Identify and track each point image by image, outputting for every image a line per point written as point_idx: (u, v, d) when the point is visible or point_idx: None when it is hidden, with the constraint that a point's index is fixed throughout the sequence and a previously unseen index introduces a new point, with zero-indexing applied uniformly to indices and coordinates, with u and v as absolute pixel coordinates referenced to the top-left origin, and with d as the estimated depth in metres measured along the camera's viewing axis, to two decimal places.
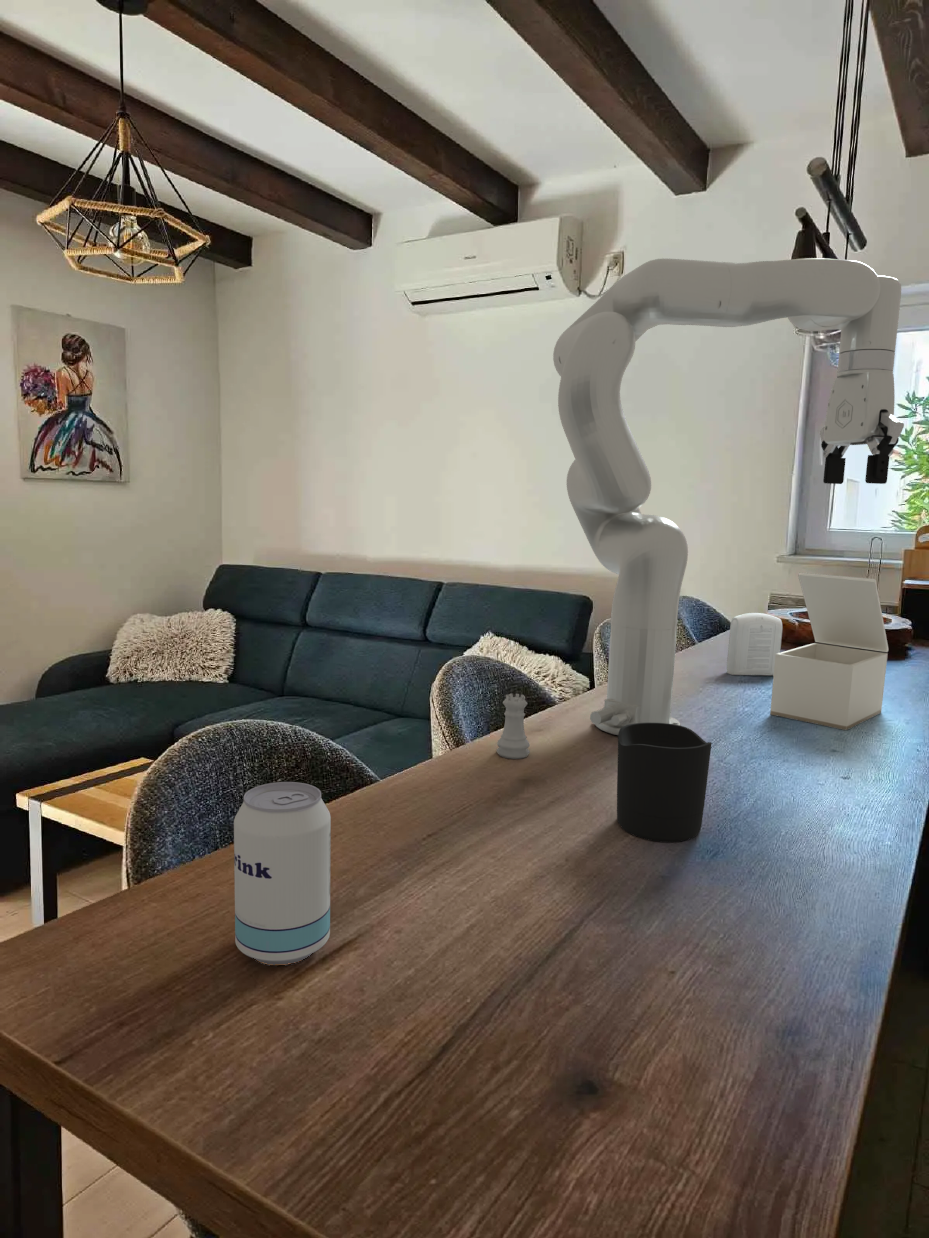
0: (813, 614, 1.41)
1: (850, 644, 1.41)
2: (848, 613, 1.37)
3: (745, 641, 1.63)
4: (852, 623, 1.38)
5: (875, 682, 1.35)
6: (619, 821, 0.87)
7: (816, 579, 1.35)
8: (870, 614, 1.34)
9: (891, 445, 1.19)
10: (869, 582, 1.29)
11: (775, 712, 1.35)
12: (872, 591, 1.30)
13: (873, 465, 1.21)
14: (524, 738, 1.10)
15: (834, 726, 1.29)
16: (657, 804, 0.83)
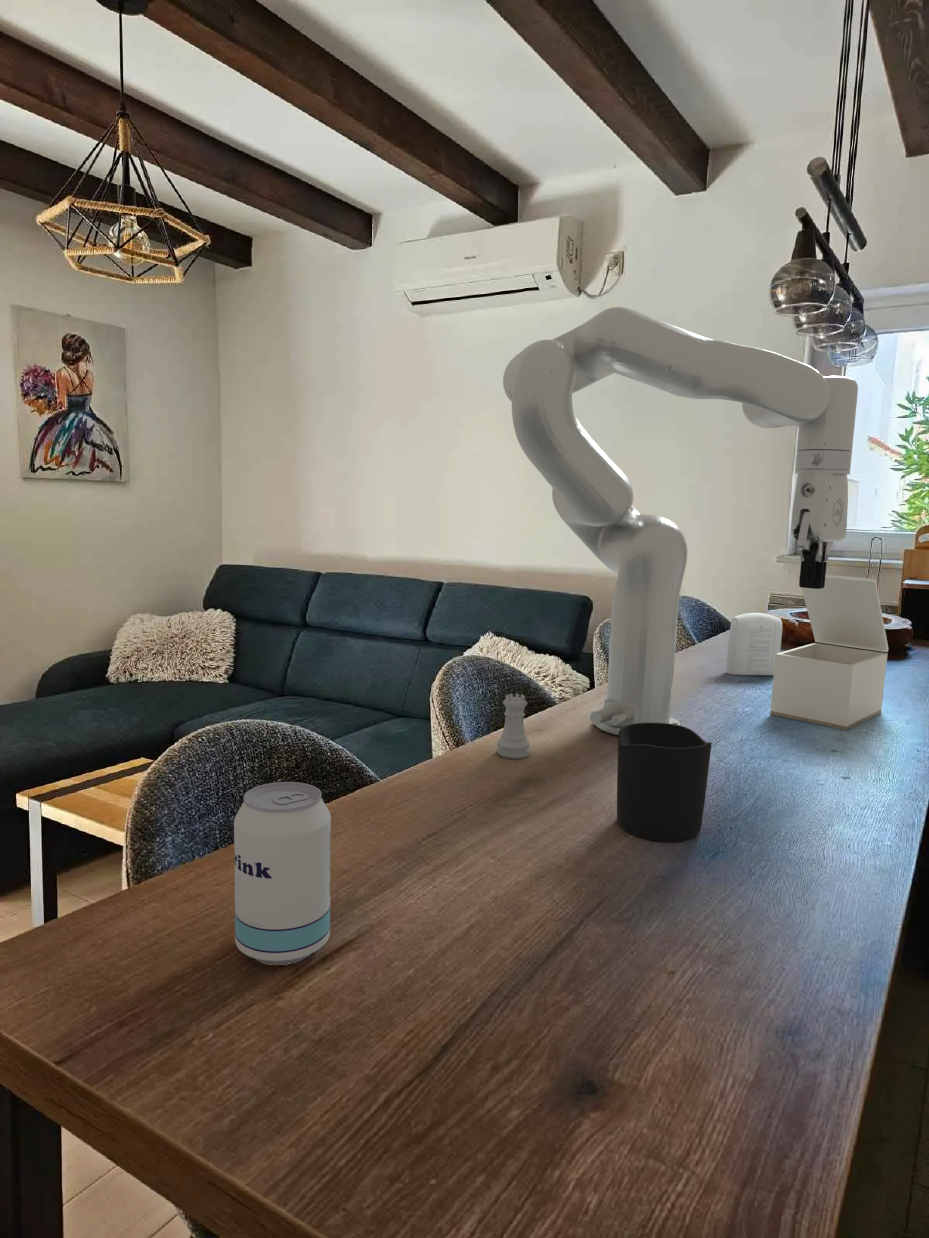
0: (813, 614, 1.41)
1: (850, 644, 1.41)
2: (848, 613, 1.37)
3: (745, 641, 1.63)
4: (852, 623, 1.38)
5: (875, 682, 1.35)
6: (619, 821, 0.87)
7: None
8: (870, 614, 1.34)
9: None
10: (869, 582, 1.29)
11: (775, 712, 1.35)
12: (872, 591, 1.30)
13: None
14: (524, 738, 1.10)
15: (834, 726, 1.29)
16: (657, 805, 0.83)
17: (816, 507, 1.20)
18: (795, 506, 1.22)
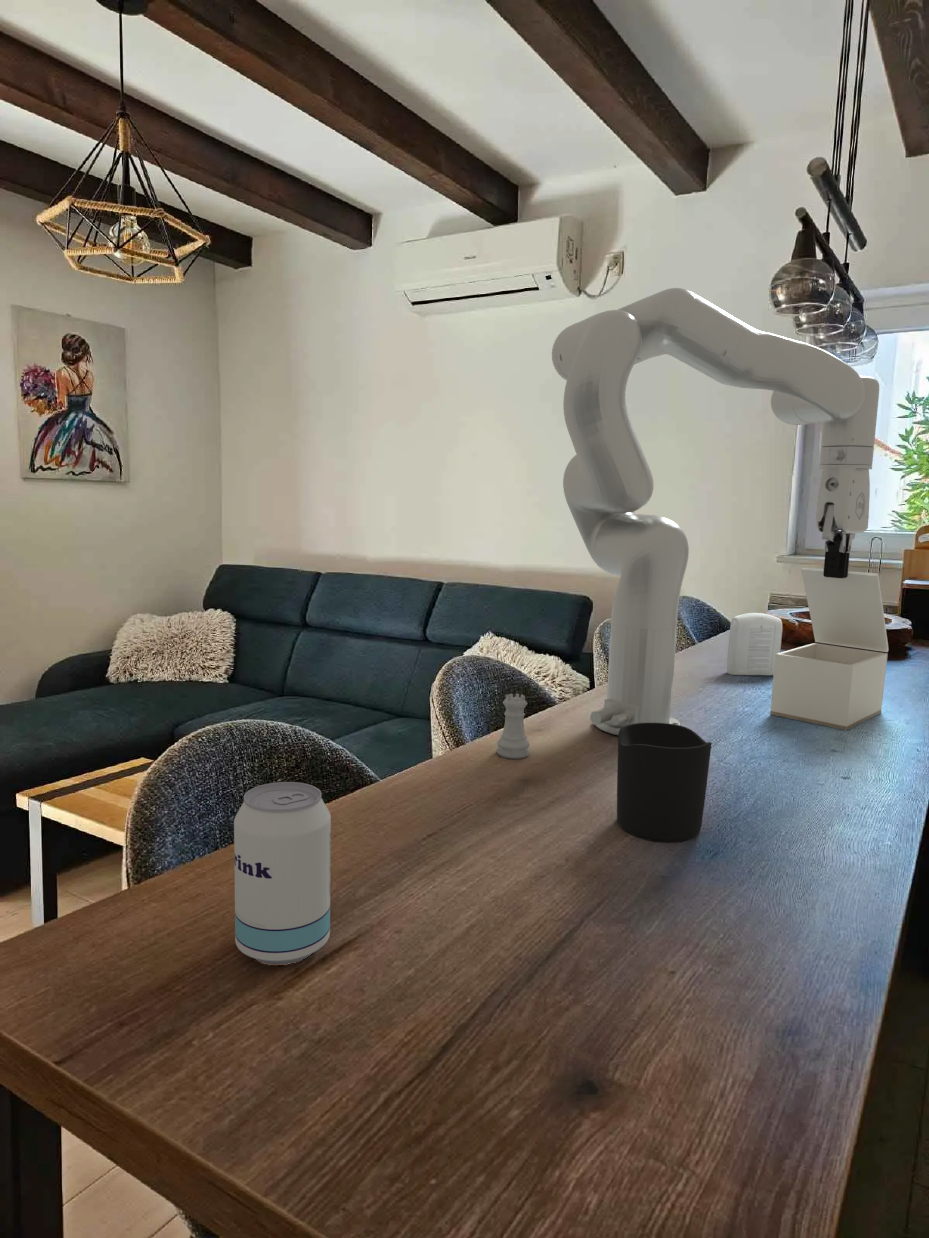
0: (814, 612, 1.42)
1: (850, 644, 1.41)
2: (850, 610, 1.37)
3: (745, 641, 1.63)
4: (853, 621, 1.38)
5: (875, 682, 1.35)
6: (619, 821, 0.87)
7: (819, 574, 1.36)
8: (872, 611, 1.34)
9: None
10: (872, 576, 1.30)
11: (775, 712, 1.35)
12: (875, 586, 1.31)
13: None
14: (524, 738, 1.10)
15: (834, 726, 1.29)
16: (657, 804, 0.83)
17: (840, 500, 1.26)
18: (820, 500, 1.28)
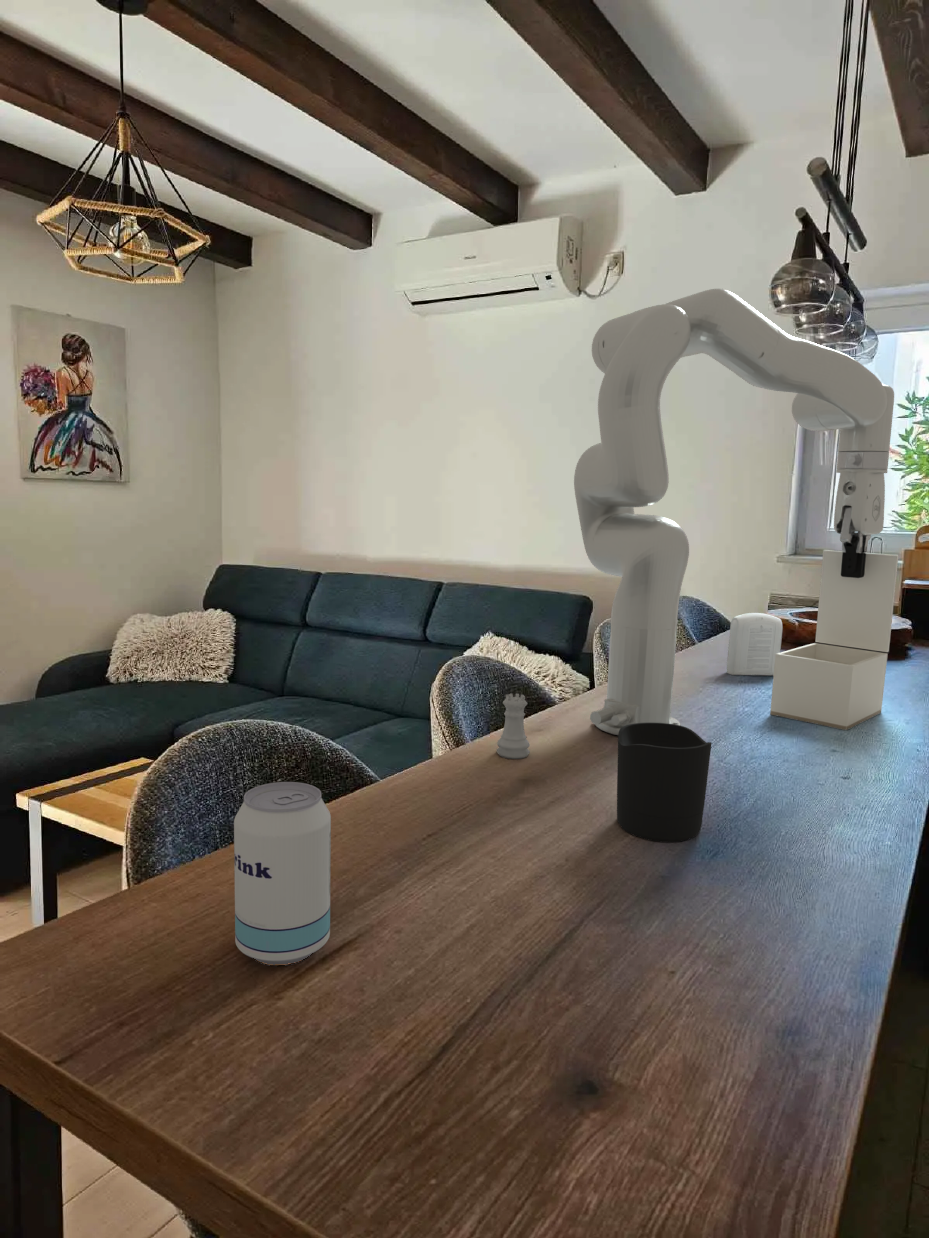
0: (824, 603, 1.44)
1: (851, 643, 1.42)
2: (860, 599, 1.40)
3: (745, 641, 1.63)
4: (861, 613, 1.40)
5: (875, 682, 1.35)
6: (619, 821, 0.87)
7: (840, 555, 1.41)
8: (882, 599, 1.38)
9: None
10: (892, 556, 1.36)
11: (775, 712, 1.35)
12: (892, 568, 1.36)
13: None
14: (524, 738, 1.10)
15: (834, 726, 1.29)
16: (657, 804, 0.83)
17: (857, 503, 1.32)
18: (838, 503, 1.34)
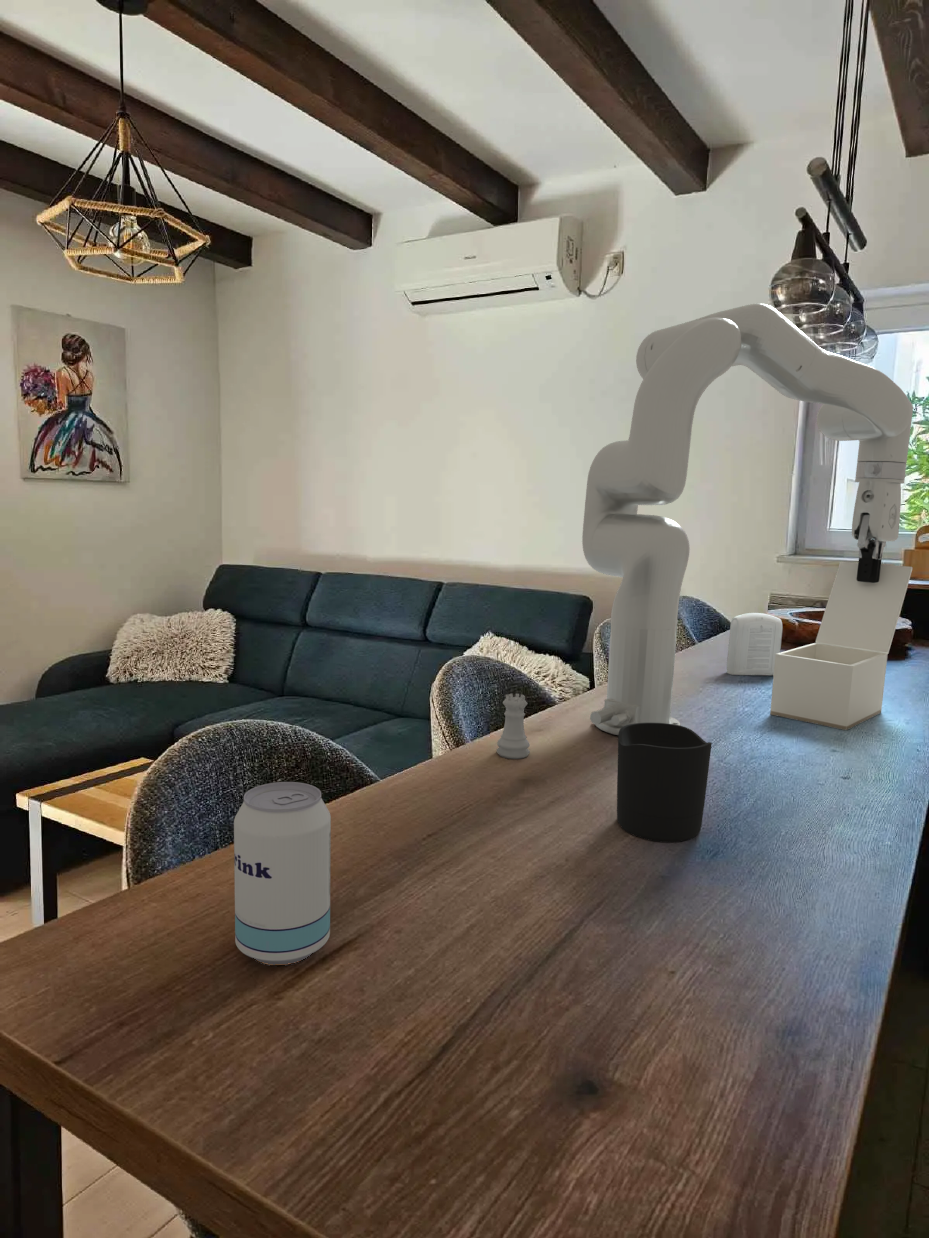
0: (831, 606, 1.47)
1: (852, 643, 1.42)
2: (868, 604, 1.43)
3: (745, 641, 1.63)
4: (867, 616, 1.43)
5: (875, 682, 1.35)
6: (619, 821, 0.87)
7: (855, 565, 1.48)
8: (890, 604, 1.41)
9: None
10: (906, 568, 1.42)
11: (775, 712, 1.35)
12: (905, 577, 1.42)
13: None
14: (524, 738, 1.10)
15: (834, 726, 1.29)
16: (657, 804, 0.83)
17: (875, 511, 1.38)
18: (856, 510, 1.40)
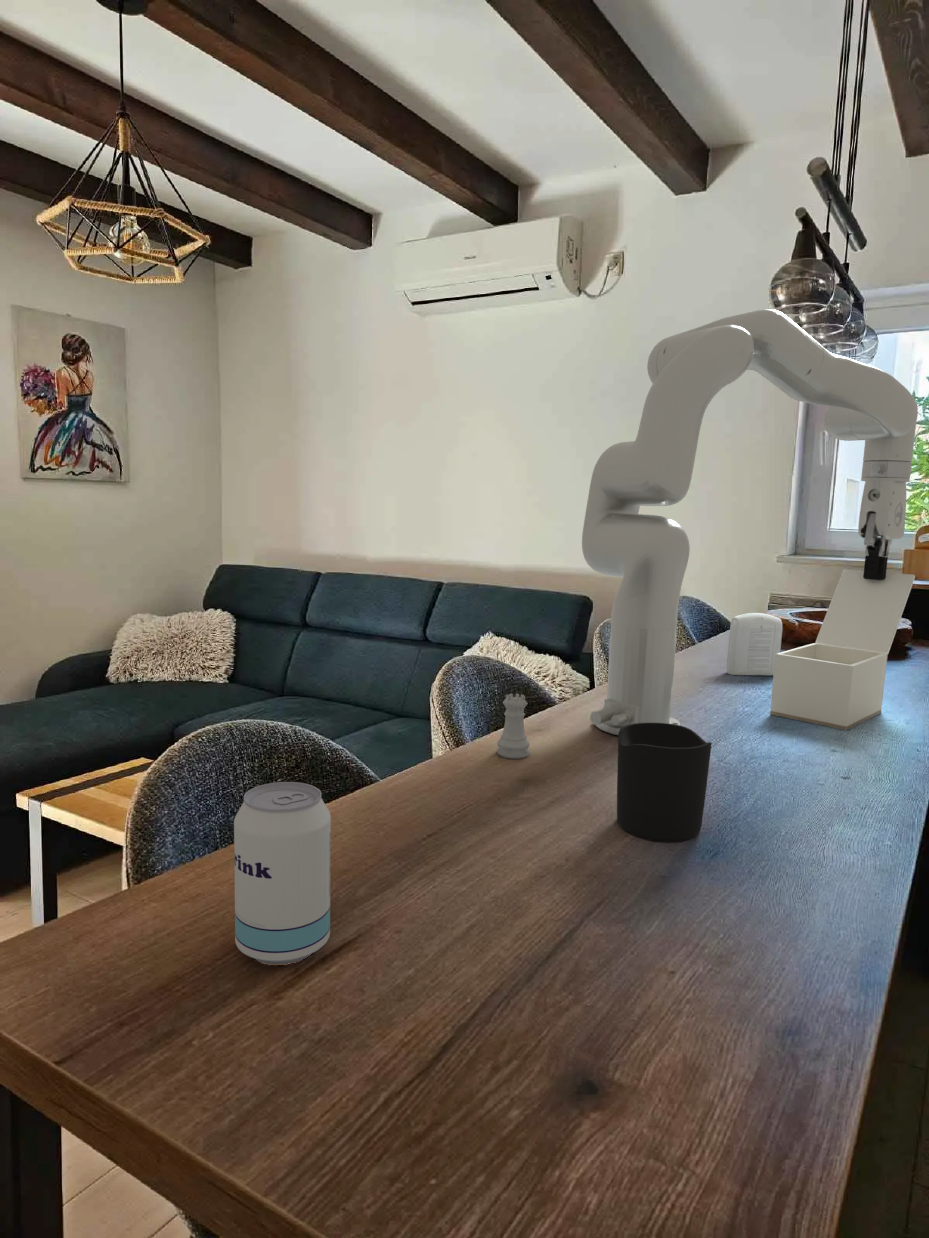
0: (833, 610, 1.48)
1: (852, 643, 1.42)
2: (870, 608, 1.44)
3: (745, 641, 1.63)
4: (868, 619, 1.43)
5: (875, 682, 1.35)
6: (619, 821, 0.87)
7: (859, 573, 1.49)
8: (892, 608, 1.42)
9: None
10: (909, 575, 1.44)
11: (775, 712, 1.35)
12: (907, 584, 1.43)
13: None
14: (524, 738, 1.10)
15: (834, 726, 1.29)
16: (657, 805, 0.83)
17: (881, 510, 1.40)
18: (862, 509, 1.42)
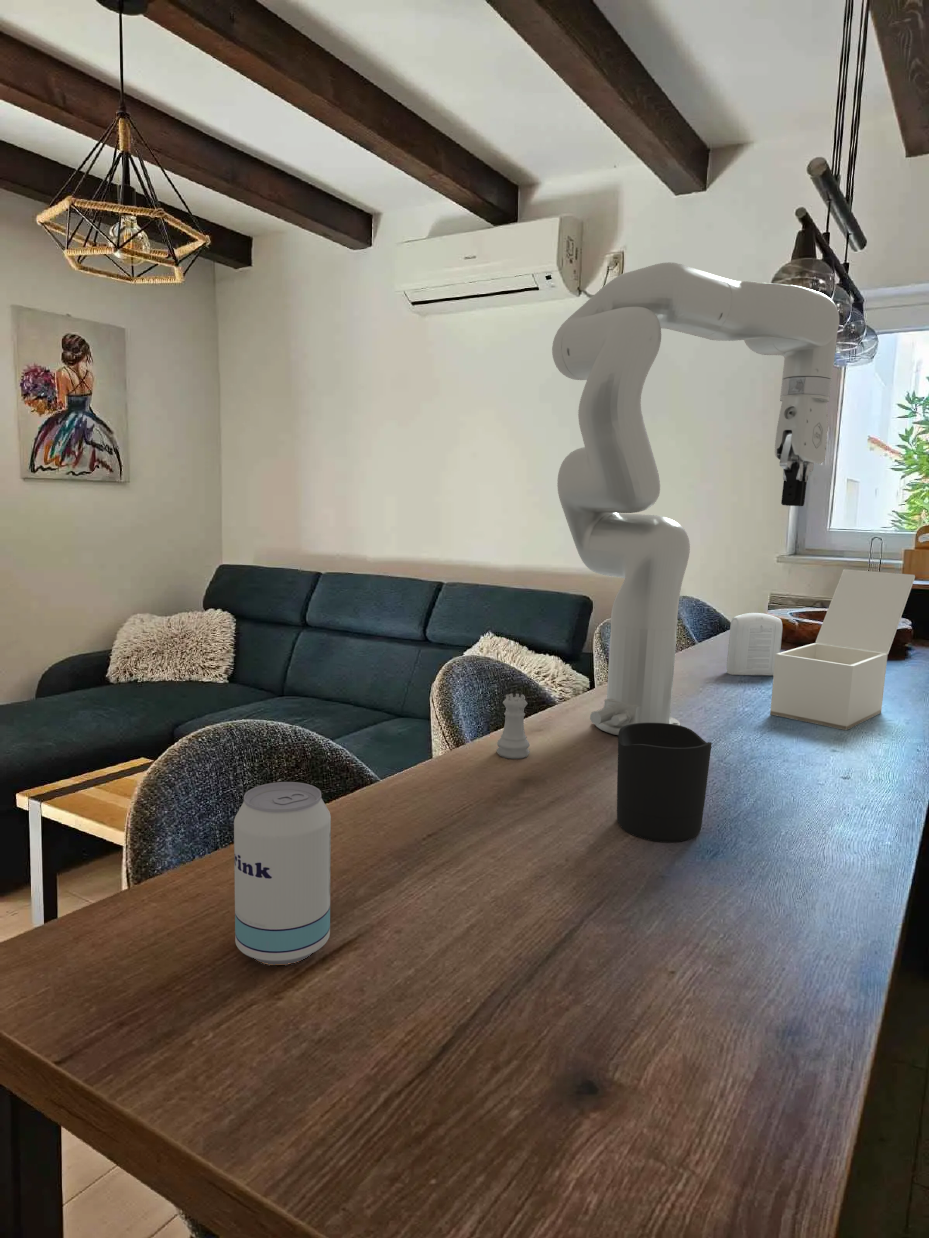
0: (833, 610, 1.48)
1: (852, 643, 1.42)
2: (870, 608, 1.44)
3: (745, 641, 1.63)
4: (868, 619, 1.43)
5: (875, 682, 1.35)
6: (619, 821, 0.87)
7: (859, 573, 1.49)
8: (892, 608, 1.42)
9: None
10: (909, 575, 1.44)
11: (775, 712, 1.35)
12: (907, 584, 1.43)
13: None
14: (524, 738, 1.10)
15: (834, 726, 1.29)
16: (657, 804, 0.83)
17: (797, 427, 1.32)
18: (779, 428, 1.34)
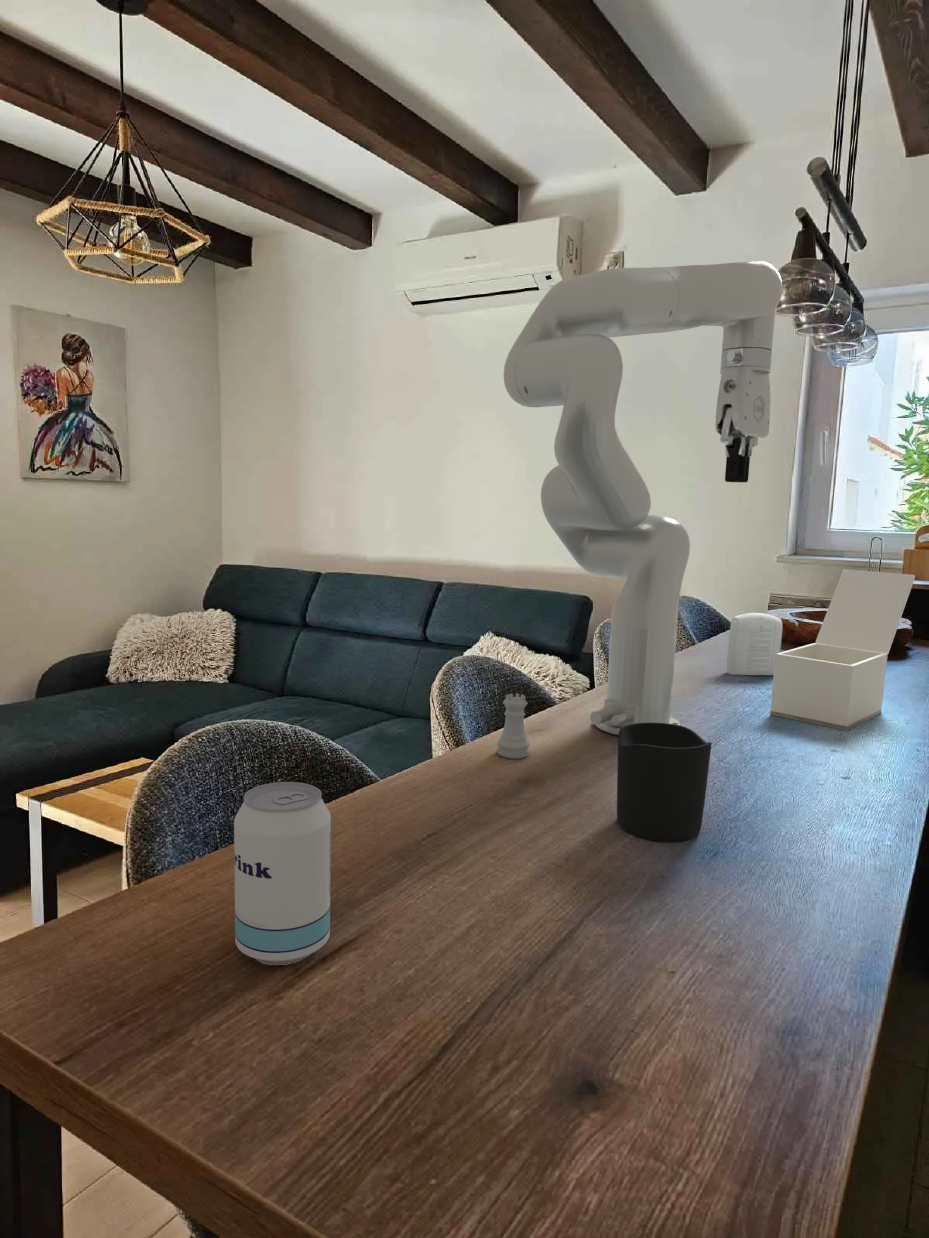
0: (833, 610, 1.48)
1: (852, 643, 1.42)
2: (870, 608, 1.44)
3: (745, 641, 1.63)
4: (868, 619, 1.43)
5: (875, 682, 1.35)
6: (619, 821, 0.87)
7: (859, 573, 1.49)
8: (892, 608, 1.42)
9: None
10: (909, 575, 1.44)
11: (775, 712, 1.35)
12: (907, 584, 1.43)
13: None
14: (524, 738, 1.10)
15: (834, 726, 1.29)
16: (657, 804, 0.83)
17: (737, 401, 1.28)
18: (719, 402, 1.30)
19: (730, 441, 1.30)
